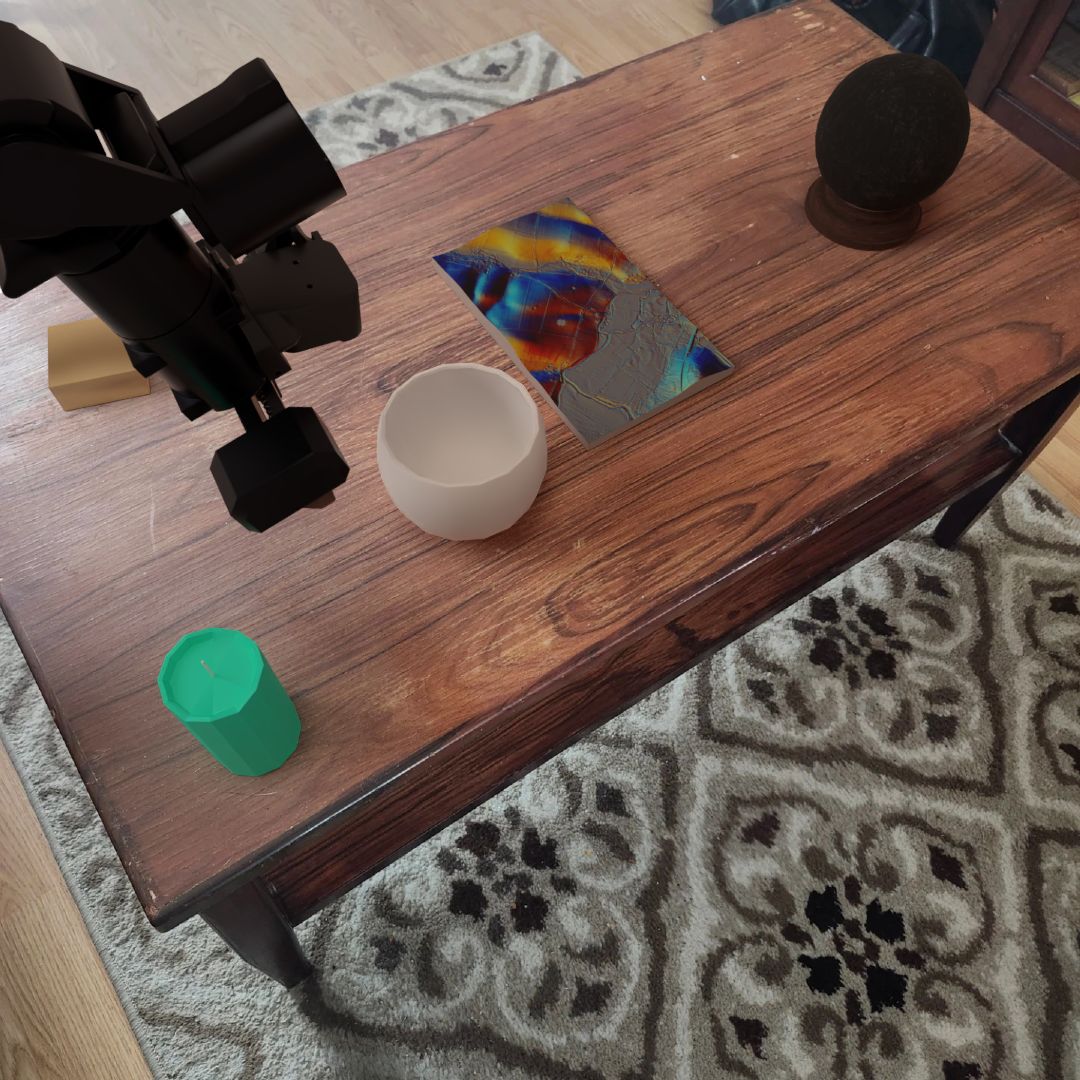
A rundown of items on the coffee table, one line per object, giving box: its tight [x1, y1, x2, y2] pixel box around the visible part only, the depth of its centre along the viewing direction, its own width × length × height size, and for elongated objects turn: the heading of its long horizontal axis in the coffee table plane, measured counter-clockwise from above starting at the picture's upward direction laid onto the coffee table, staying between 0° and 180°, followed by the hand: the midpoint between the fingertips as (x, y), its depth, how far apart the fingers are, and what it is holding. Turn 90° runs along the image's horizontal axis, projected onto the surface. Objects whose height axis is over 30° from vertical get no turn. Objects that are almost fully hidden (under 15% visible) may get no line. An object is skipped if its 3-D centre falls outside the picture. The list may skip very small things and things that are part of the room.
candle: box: [156, 626, 303, 778], centre depth 56 cm, size 6×6×12 cm
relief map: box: [431, 196, 736, 451], centre depth 81 cm, size 25×15×2 cm, turn 33°
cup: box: [376, 362, 548, 542], centre depth 67 cm, size 12×12×10 cm
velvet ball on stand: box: [804, 52, 972, 252], centre depth 83 cm, size 13×13×15 cm
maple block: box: [47, 316, 151, 412], centre depth 77 cm, size 7×7×3 cm
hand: (300, 449), depth 58 cm, fingers open, 9 cm apart
